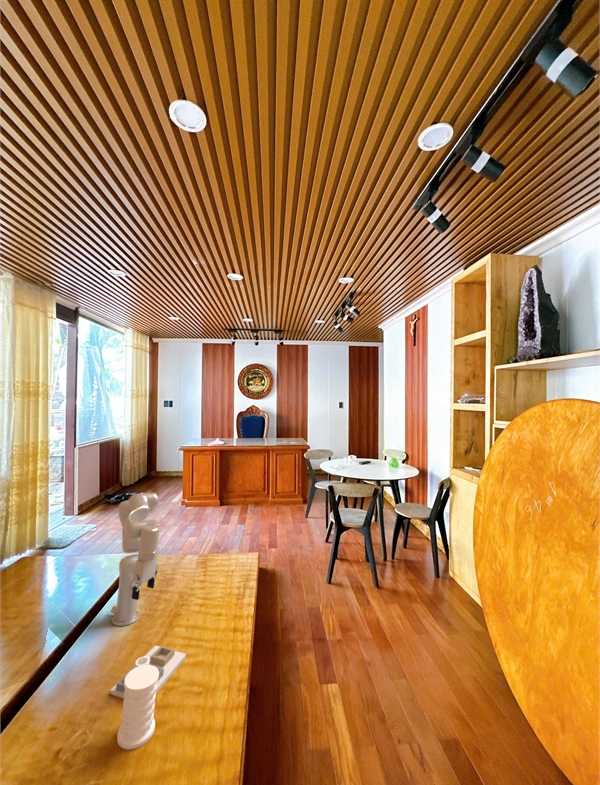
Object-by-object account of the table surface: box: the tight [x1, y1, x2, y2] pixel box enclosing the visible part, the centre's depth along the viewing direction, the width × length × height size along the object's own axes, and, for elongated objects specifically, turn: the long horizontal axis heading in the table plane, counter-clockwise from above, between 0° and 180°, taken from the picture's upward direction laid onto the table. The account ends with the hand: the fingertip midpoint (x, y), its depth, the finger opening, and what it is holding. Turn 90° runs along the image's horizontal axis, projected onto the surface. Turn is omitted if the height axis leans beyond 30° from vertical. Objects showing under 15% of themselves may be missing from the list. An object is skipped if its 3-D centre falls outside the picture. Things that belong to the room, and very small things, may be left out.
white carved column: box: [116, 665, 159, 750], centre depth 113 cm, size 12×12×18 cm
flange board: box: [109, 645, 187, 700], centre depth 137 cm, size 16×26×4 cm, turn 166°
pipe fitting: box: [133, 655, 149, 668], centre depth 131 cm, size 6×7×8 cm
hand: (143, 593), depth 148 cm, fingers open, 9 cm apart
